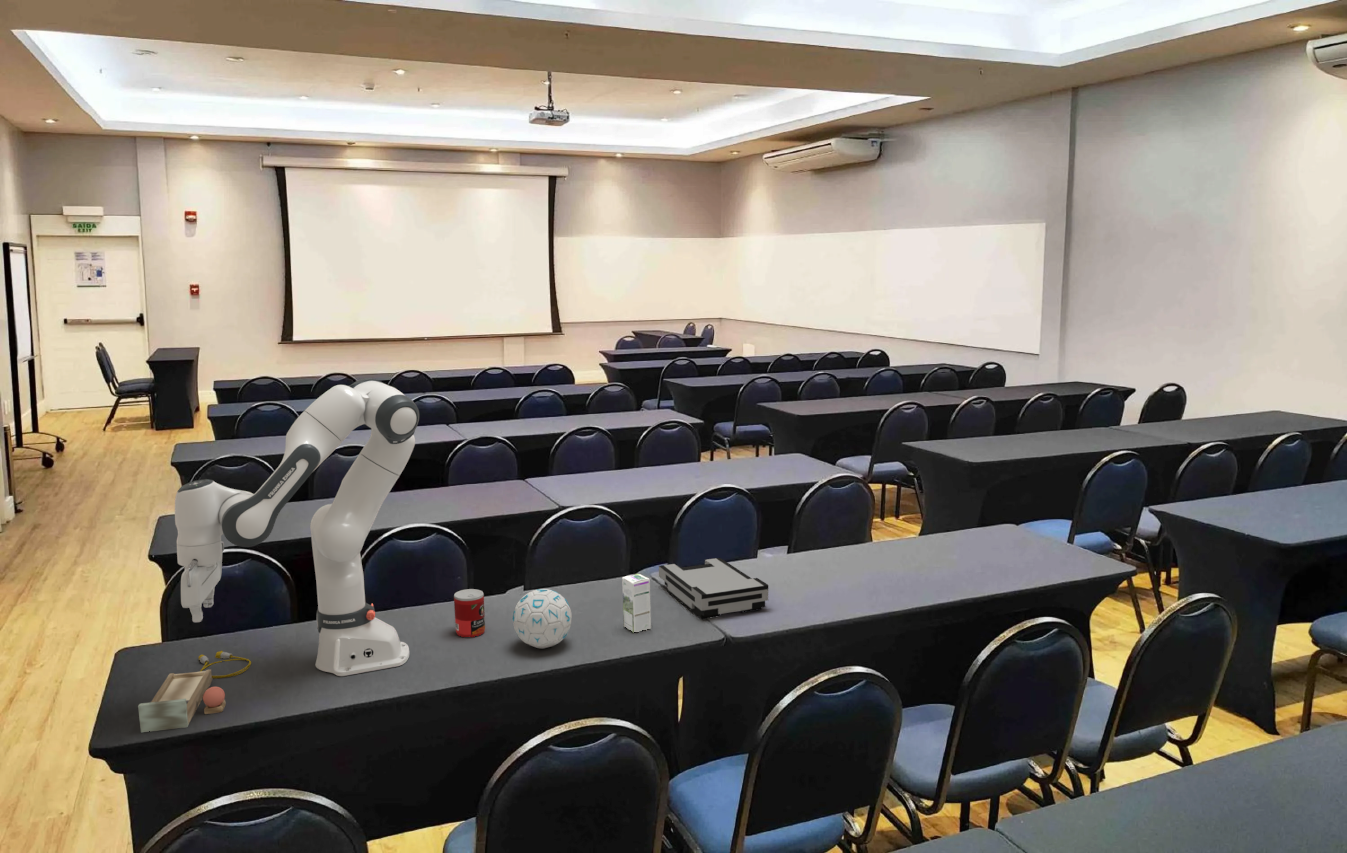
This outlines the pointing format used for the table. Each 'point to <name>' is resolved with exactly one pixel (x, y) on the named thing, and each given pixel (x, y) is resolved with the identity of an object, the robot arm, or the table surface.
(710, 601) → the game console
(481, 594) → the canned food
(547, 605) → the puzzle ball
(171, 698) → the tray
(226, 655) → the extension cord
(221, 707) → the hollow square frame
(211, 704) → the ball
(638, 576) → the syrup box
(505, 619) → the table surface
